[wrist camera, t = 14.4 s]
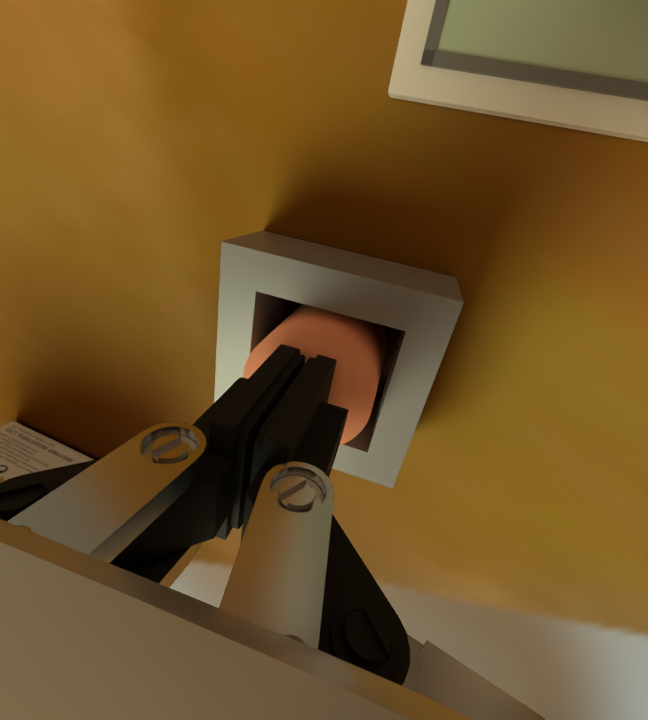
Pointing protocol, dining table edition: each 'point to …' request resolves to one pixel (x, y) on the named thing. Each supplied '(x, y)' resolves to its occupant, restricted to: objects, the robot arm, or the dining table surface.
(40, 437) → the ink cartridge box
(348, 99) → the dining table surface
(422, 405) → the button housing
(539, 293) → the dining table surface
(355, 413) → the button
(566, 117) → the picture board
